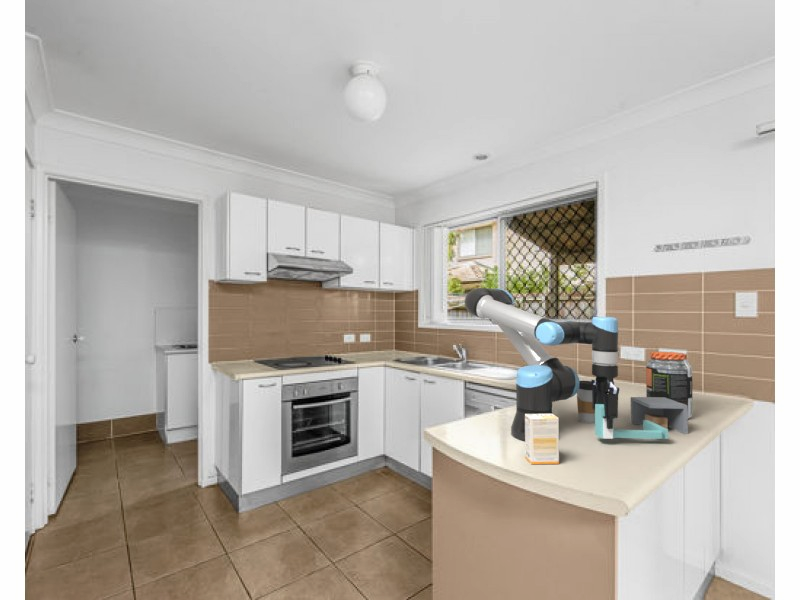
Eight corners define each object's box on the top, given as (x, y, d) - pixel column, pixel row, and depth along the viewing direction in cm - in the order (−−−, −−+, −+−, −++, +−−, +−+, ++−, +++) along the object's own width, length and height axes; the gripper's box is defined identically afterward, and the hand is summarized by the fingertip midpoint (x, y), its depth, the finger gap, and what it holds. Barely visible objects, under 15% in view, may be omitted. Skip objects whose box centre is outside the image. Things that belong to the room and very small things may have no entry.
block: (653, 432, 138) (653, 418, 138) (644, 427, 143) (644, 414, 143) (667, 432, 137) (667, 418, 138) (658, 428, 142) (658, 414, 143)
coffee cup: (602, 424, 146) (602, 384, 146) (578, 423, 147) (578, 383, 147) (595, 418, 154) (595, 380, 154) (573, 417, 155) (573, 379, 156)
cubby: (650, 433, 136) (650, 404, 136) (630, 423, 148) (630, 396, 148) (687, 433, 136) (687, 405, 136) (664, 423, 148) (664, 397, 148)
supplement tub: (701, 418, 155) (701, 354, 156) (675, 422, 149) (675, 355, 150) (662, 408, 170) (662, 350, 170) (637, 412, 164) (637, 351, 165)
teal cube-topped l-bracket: (600, 438, 124) (601, 407, 124) (585, 427, 135) (585, 398, 135) (670, 440, 123) (670, 408, 123) (648, 428, 134) (649, 400, 134)
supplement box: (552, 458, 113) (552, 413, 113) (559, 464, 108) (559, 417, 108) (524, 458, 112) (524, 413, 113) (530, 464, 108) (530, 417, 108)
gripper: (631, 368, 117) (631, 445, 117) (603, 360, 135) (602, 427, 134) (606, 368, 118) (606, 444, 117) (581, 360, 135) (580, 427, 134)
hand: (604, 435), depth 126 cm, fingers closed on teal cube-topped l-bracket, 4 cm apart
